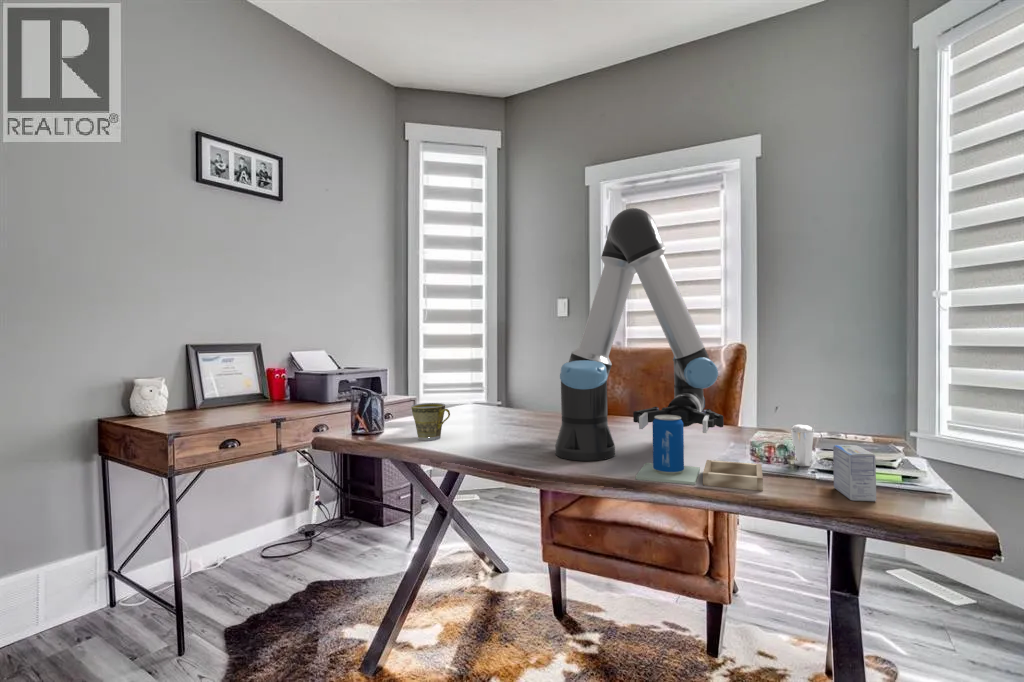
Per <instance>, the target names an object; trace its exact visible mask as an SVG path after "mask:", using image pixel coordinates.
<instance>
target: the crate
mask: <svg viewBox="0 0 1024 682" xmlns="http://www.w3.org/2000/svg"><path fill="white" fill-rule="evenodd" d="M763 477H764V476H763V466H762V463H750V462H739V461H725V460H712V459H706V462H705V465H704V468H703V472H702V486H708V487H718V488H719V487H720V488H729V489H739V490H750V491H758V492H759V491H760V492H763V490H764V487H763V486H764V483H763V482H764V480H763V479H764V478H763Z"/></svg>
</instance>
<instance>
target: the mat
mask: <svg viewBox="0 0 1024 682" xmlns="http://www.w3.org/2000/svg"><path fill="white" fill-rule="evenodd" d="M700 471H701V466H691V465H684V470H683V471H681V472H680V473H679V474H676V475H665V474H660V473H658V472H657V471H656V470H655V469H654V468H653V462H644V464H643V466H642V467H641V468H640V469H639V471H638V472H637V474H636V475H635V480H638V481H650V482H660V483H668V484H669V483H671V484H680V485H682V484H683V485H691V486H696V483H697V481H698V477H699V474H700Z"/></svg>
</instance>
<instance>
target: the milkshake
mask: <svg viewBox="0 0 1024 682" xmlns="http://www.w3.org/2000/svg"><path fill="white" fill-rule="evenodd" d="M816 424H817V423H816V422H815V423H814V424H813V427H812V426H811V425H808V424H794V425H793V426H792V427H791V428H790V432H791V438H792V439H791V440H792V445H793V444H794V446H795V448H796V456H797V460H798V461H795V460H794V459H793V463H794V465H795V466H799V467H811V466H812V454H813V443H814V433H815V426H816Z"/></svg>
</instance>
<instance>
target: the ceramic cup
mask: <svg viewBox="0 0 1024 682" xmlns="http://www.w3.org/2000/svg"><path fill="white" fill-rule="evenodd" d="M445 412H446V413H447V415H448V416H447V417H446V418H445V419H444V416H445ZM411 413H412V417H413V419H414V423H415V428H416V433H417V435H416V436H417V439H418V440H419V441H422V442H423V441H424V442H430V441H431V442H432V441H437V440H440V439H441V437H442V430H443V429H442V427H443V424H445V422H446V421H447V420H449V419H450V417H451V413H450V410H449V409H448V408H446V404H445V403H442V402H441V403H439V402H426V403H416V404H413V405H411ZM428 437H430V438H428Z"/></svg>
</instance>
